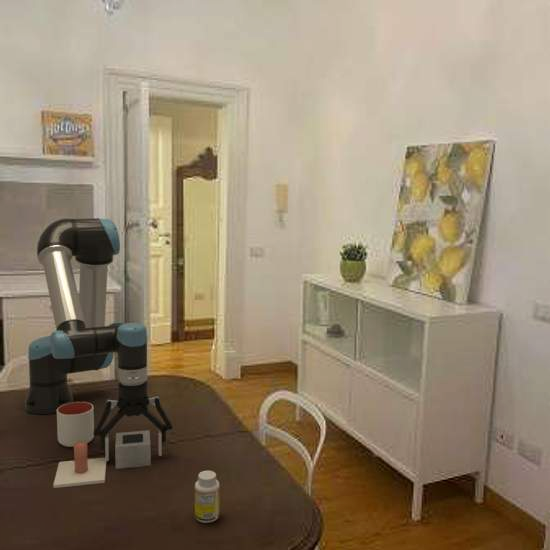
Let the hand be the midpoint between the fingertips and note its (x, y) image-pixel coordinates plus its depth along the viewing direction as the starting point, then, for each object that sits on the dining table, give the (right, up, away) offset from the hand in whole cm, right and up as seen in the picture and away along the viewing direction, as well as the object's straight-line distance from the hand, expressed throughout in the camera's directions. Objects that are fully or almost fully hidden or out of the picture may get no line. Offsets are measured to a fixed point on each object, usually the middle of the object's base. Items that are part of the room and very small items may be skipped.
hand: (133, 456), depth 150 cm
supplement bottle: (+23, -5, -25) cm, 35 cm away
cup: (-20, +1, +11) cm, 22 cm away
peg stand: (-12, -2, -8) cm, 14 cm away
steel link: (0, -1, 0) cm, 1 cm away
